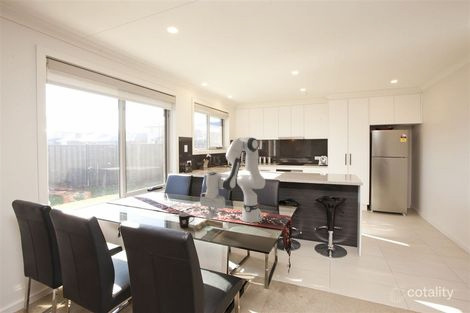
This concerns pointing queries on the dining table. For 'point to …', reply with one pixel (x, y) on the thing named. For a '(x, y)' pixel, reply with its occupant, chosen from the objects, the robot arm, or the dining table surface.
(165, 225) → the dining table surface
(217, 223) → the corner walls
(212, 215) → the bracket
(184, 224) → the coffee mug
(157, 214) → the dining table surface
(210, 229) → the pad
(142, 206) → the dining table surface
